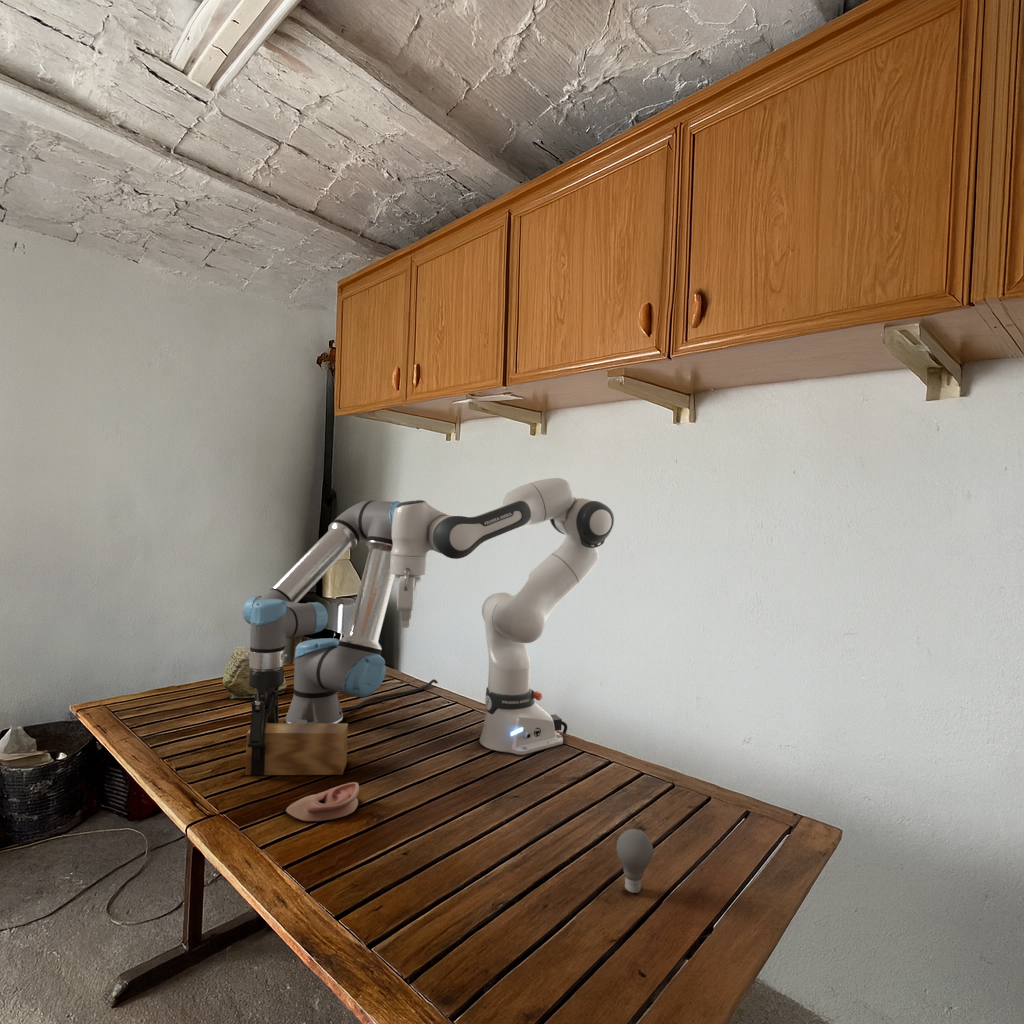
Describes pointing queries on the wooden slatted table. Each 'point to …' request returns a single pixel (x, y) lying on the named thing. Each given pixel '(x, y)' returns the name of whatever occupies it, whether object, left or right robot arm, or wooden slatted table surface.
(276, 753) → the box
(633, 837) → the light bulb
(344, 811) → the anatomical model
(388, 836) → the wooden slatted table surface
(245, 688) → the fossil
